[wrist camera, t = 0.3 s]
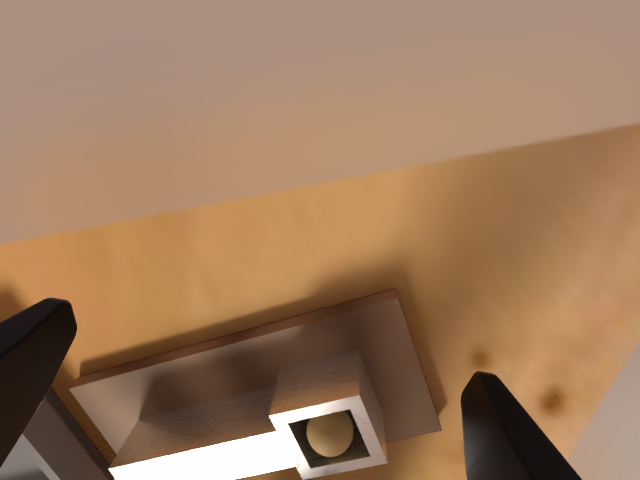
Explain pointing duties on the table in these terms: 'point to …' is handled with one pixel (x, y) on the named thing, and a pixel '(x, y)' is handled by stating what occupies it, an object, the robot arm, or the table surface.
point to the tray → (54, 448)
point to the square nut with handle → (261, 429)
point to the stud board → (273, 373)
